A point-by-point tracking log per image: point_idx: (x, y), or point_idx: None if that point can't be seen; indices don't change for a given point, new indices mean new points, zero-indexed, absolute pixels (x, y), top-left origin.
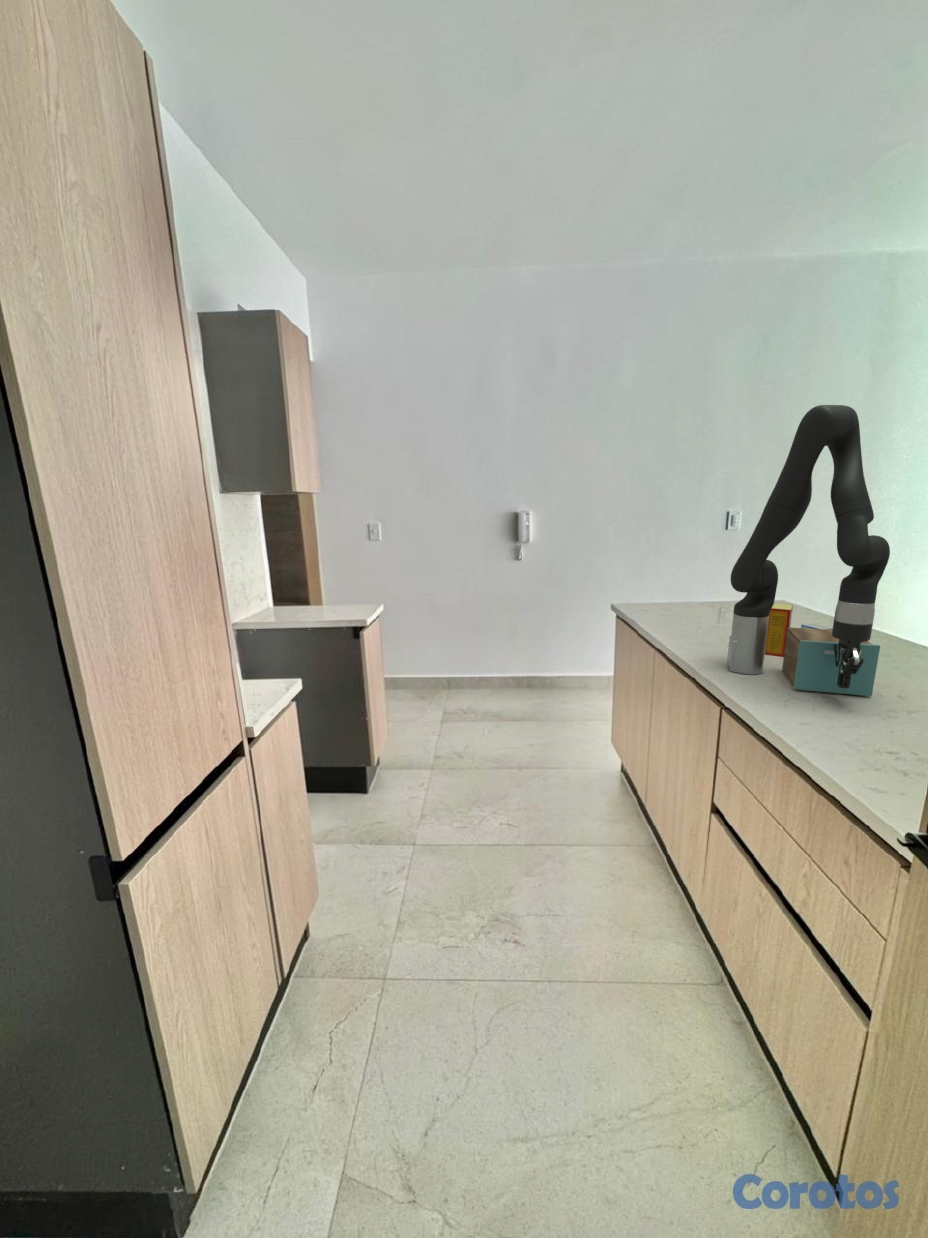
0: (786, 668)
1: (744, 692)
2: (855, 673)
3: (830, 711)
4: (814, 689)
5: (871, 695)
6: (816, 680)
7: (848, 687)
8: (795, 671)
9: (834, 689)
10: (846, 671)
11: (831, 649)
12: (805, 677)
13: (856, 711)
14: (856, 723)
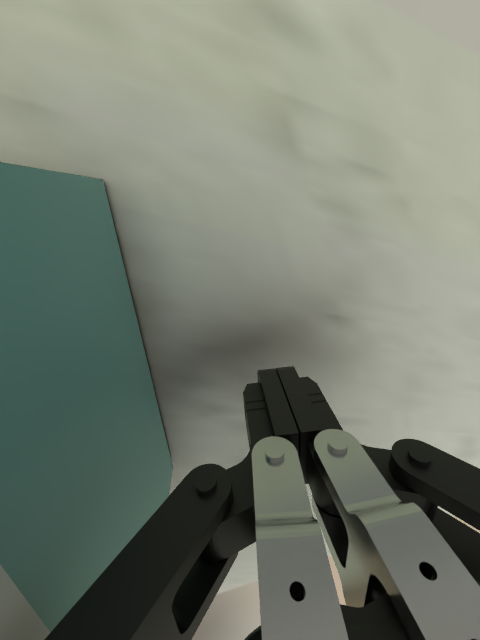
0: None
1: (248, 556)
2: (433, 450)
3: (352, 378)
4: (157, 419)
5: (101, 180)
6: (149, 453)
7: (294, 368)
8: None
9: (141, 359)
10: (440, 513)
11: None
12: (157, 499)
13: (331, 293)
14: (455, 318)
